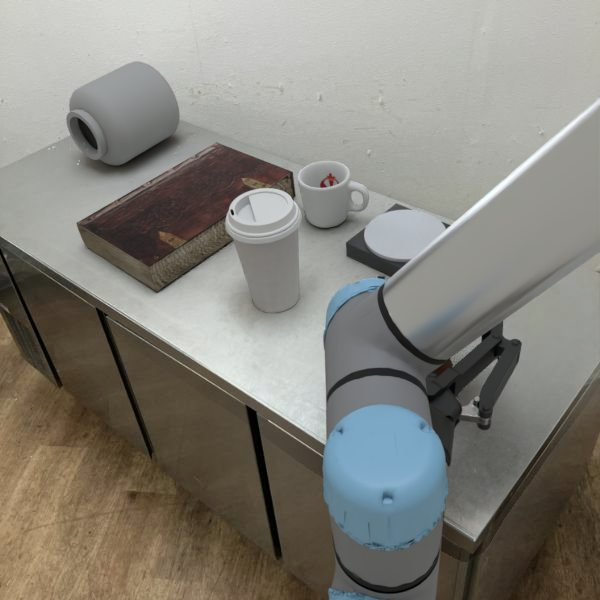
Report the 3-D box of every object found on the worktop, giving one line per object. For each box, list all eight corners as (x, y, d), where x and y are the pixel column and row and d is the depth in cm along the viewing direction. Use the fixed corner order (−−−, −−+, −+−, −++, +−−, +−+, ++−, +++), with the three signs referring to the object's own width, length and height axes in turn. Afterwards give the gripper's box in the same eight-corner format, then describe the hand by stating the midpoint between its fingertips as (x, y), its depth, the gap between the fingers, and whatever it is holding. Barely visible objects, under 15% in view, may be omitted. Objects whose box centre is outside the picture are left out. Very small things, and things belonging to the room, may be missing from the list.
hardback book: (220, 164, 116) (215, 139, 113) (296, 198, 106) (292, 171, 103) (84, 246, 102) (74, 220, 99) (157, 293, 92) (148, 266, 88)
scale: (463, 243, 93) (465, 227, 91) (414, 288, 87) (415, 271, 85) (396, 215, 100) (396, 199, 98) (346, 255, 94) (345, 239, 92)
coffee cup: (250, 272, 93) (232, 184, 83) (315, 274, 91) (305, 184, 81) (234, 319, 86) (213, 228, 76) (305, 322, 85) (292, 230, 75)
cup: (376, 209, 102) (375, 164, 96) (362, 239, 96) (360, 194, 91) (311, 201, 105) (307, 157, 100) (294, 230, 100) (289, 185, 94)
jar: (205, 128, 117) (76, 168, 103) (181, 167, 129) (63, 207, 116) (154, 40, 118) (20, 68, 104) (136, 87, 130) (13, 117, 117)
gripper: (281, 462, 61) (332, 304, 76) (543, 507, 55) (542, 326, 70) (270, 413, 56) (327, 254, 71) (557, 457, 50) (553, 273, 65)
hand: (434, 290), depth 71 cm, fingers closed on ice cream bowl, 11 cm apart
